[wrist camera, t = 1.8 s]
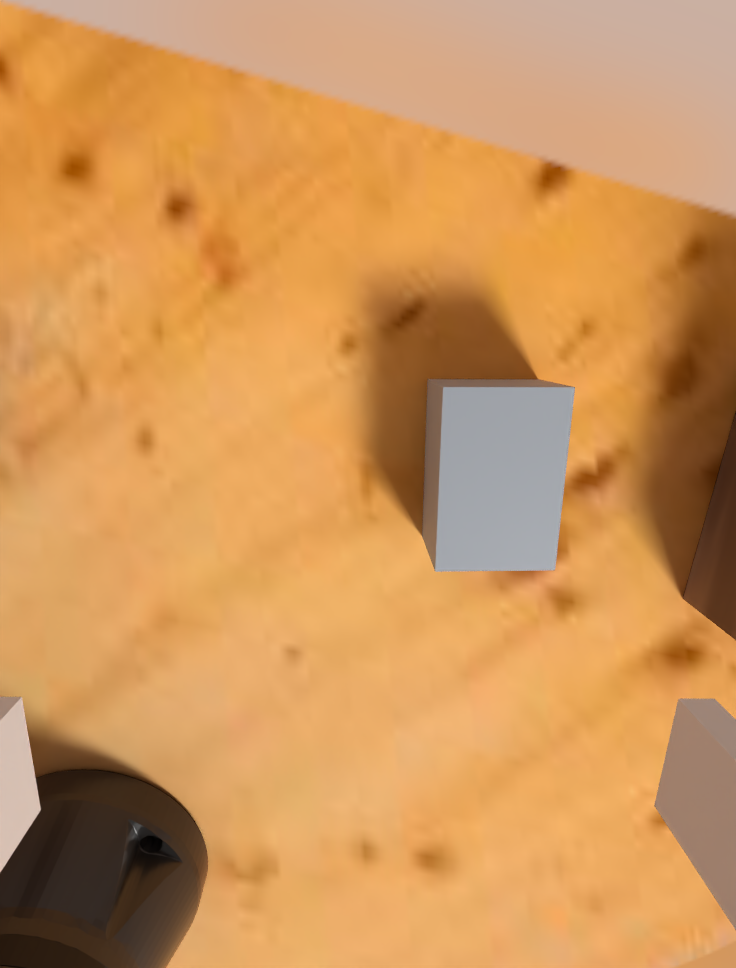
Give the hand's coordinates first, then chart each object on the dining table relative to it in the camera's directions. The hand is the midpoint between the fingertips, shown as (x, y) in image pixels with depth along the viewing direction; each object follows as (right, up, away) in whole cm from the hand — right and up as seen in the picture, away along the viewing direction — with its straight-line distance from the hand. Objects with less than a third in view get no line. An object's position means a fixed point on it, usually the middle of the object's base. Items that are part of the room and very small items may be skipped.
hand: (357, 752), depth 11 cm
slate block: (+6, +7, +19) cm, 21 cm away
